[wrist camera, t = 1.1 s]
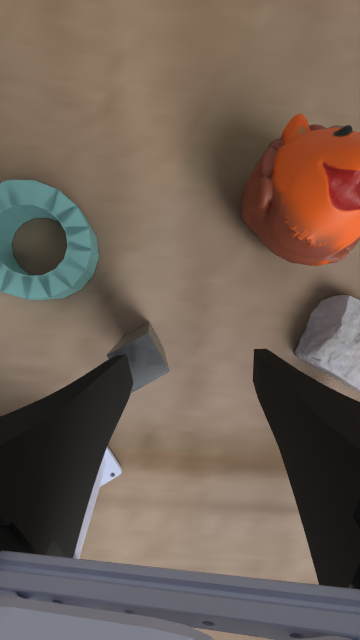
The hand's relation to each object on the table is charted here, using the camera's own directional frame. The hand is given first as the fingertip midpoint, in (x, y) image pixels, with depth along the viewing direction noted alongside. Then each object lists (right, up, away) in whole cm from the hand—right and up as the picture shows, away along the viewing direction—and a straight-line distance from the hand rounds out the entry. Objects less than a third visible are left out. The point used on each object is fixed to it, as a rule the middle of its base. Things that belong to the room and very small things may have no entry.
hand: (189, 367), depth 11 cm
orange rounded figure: (+11, +14, +12) cm, 21 cm away
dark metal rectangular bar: (-5, 0, +10) cm, 11 cm away
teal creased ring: (-14, +10, +8) cm, 19 cm away
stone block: (+21, 0, +15) cm, 25 cm away
